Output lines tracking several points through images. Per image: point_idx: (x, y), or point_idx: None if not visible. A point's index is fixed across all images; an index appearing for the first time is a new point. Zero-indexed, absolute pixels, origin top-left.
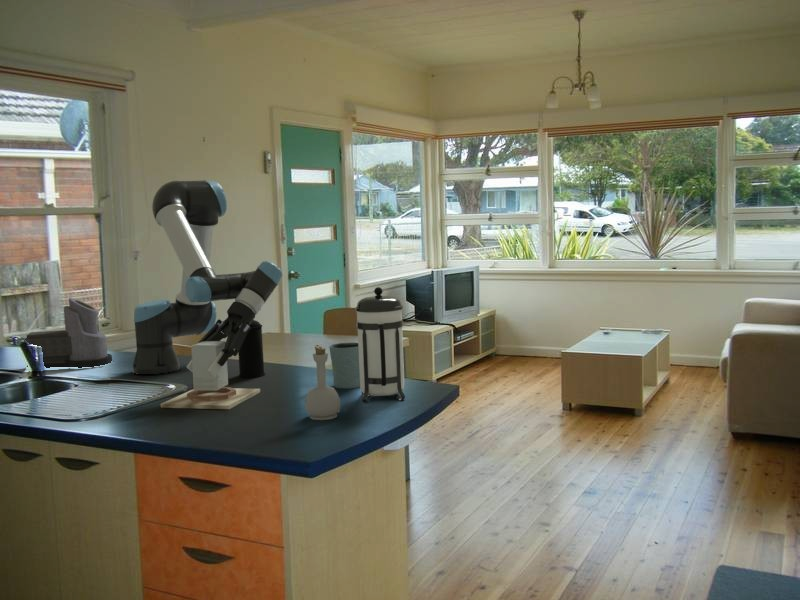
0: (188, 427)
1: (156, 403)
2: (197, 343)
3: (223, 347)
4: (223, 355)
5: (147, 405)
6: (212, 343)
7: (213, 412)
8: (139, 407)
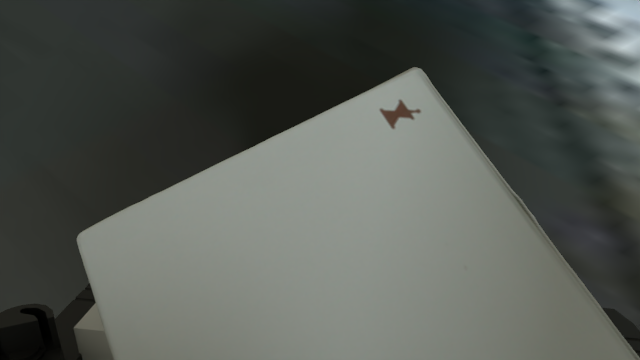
0: (63, 6)
1: (526, 142)
2: (514, 215)
3: None
4: (72, 329)
5: (521, 101)
6: (228, 306)
7: (129, 176)
8: (512, 65)
